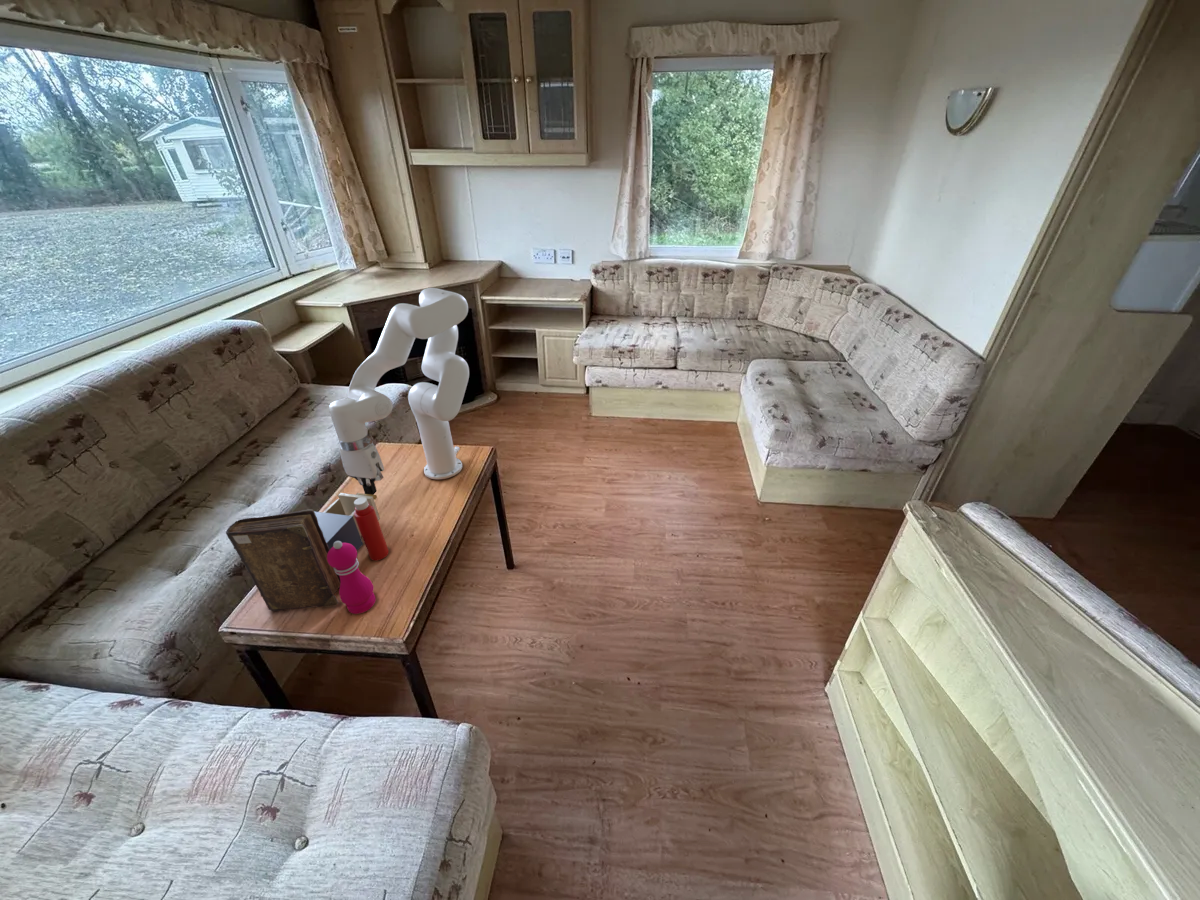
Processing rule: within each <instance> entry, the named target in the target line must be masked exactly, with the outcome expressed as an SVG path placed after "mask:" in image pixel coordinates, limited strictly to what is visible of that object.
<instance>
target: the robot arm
mask: <svg viewBox="0 0 1200 900" xmlns="http://www.w3.org/2000/svg"><path fill="white" fill-rule="evenodd" d="M418 304H419V305H415V304H410V303H404V302H402V303H397V304H394V306H393V307H392V308H391V309H390V311H389V314H388V316H387V319H386V321H385V324H384V327H383V328H382V331H381V334H380V337H379V339H378V341H377V344H376V347H375V349H374V350H373V352H372V353H371V354H370V355H369V356H368V357H367V358H366V359H364V361H363V362H361V363H360V365H359V366H358V367H357V368H356V370H355V372H354V374H353V375H352V378H351V380H350V382H349V383H350V384H349V386H348V389H347V393H346V397H343V398H339V399H336V400H334V401H332V402H331V403H330V404H329V406H328V412H329V415H330V418H331V421H332V424H333V427H334V430H335V434H336V436H337V438H338V442H339V444H340V446H339V451H340V452H339V454H340V459H341V463H342V467H343V471H344V472H345V473H346V475H347V476H348V477H350V478H352V479H355V480H356V481H357V482H358V483H359V485H360V486H362V489H363V492H364V494H372V495H376V493H377V491H378V490H377V487H376V483H375V482H378V481H379V482H380V481H382V480H383V479H384V475H383V473H382V472H384V471H385V467H384V463H383V460H382V458H381V456H380V453H379V451H378V449H377V447H376V445H375V444H374V443H373V439H371V438H370V436H369V433H368V429H367V426H366V424H367V423H370V422H371V423H372V422H376V421H380V420H383V419H386V418H387V417H388V416H390V414H392V412H393V408H394V405H393V401H392V400H391V398H390V397H389V396H387V395H386V394H384V393H381V392H380V391H377V390H376V387H377V384H378V383H379V381H380V379H381V378H382V377H383V376H384V375H385V374H386V373H387V372H389V371H390V370H393V369H396V368H399V367H402V366H404V365H405V364H406V363H407V361H408V358H409V356H410V353H411V350H412V348H413V345H414V342H415V340H416V339H420V340H427V342H426V346H425V349H424V354H423V357H422V361H421V372H422V374H423V375H424V376H425V377H427V378H428V379H431V380H433V381H436V382H438V385H436V384H433V383H430V382H427V381H421V382H417V383H415V384H414V385H412V386H411V387H410V389H409V391H408V395H407V399H408V404H409V407H410V409H411V412H412V415H413V416H414V419H415V422H416V425H417V430H418V432H419V437H420V441H421V444H422V450H423V452H424V453H423V454H424V457H425V461H426V464H425V466H424V467H423V474H424V476H425V477H426V478H428V479H432V480H445V479H449V478H452V477H454V476H456V475H458V474H459V473H460V472H461V471H462V469H463V461H462V460H461V459H459V458H457V455H458V453H459V451H460V450H461V448H460V447H459V446H457V445H455V446H454V442H453V437H452V433H451V427H450V421H452V420H453V419H455V418H456V417H457V416H458V414H459V412H460V410H461V407H462V403H463V402H464V401H463V400H464V397H465V393H466V390H467V386H468V383H469V378H470V367H469V364H468V362H467V361H466V359H464V358H463V357H462V356H460V355H458V354H456V351H457V347H458V342H459V327H458V325H459V324H460V323H461V322H463V321H464V320H465V319H466V318H467V316H468V313H469V304H468V301H467V299H466V298H465V297H464V295H462V294H460V293H457V292H454V291H450V290H446V289H442V288H437V287H427V288H424V289H422V290H421V291H420V293H419V295H418Z"/></svg>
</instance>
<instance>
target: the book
mask: <svg viewBox="0 0 1200 900" xmlns="http://www.w3.org/2000/svg"><path fill="white" fill-rule="evenodd" d="M314 511H315V510H314V509H312V508H311V509H302V510H298V511H291V512H286V513H281V514H274V515H267V516H259V517H254V516H253V517H247V518H242V519H238V520H235V522H233V523H232V524H231V525H229V527H228V528H227V529H226V531H225V534H226V537H227V538H228V540H229V541H230V543H231V544H232V546H233V549H234V551H236V553H237V554H238V556H239V558H240V561H241V562H242V564H243V565H244V567H245V569H246V570H247V573H248V574H249V576H250V577H251V580H252V581H253V584H254V586H255V587H256V588H257V591H258V592H259V593H260V597H261V598H262V599H263V601H264V604H265V605H266V607H267V610H269V611H272V612H281V611H282V612H283V611H284V612H285V611H288V610H298V609H306V608H326V607H335V606H338V605H339V601H338V600H337V598H336V595H335V594H336V592H337V591H338V590H339V589H340V583H341V582H340V576H339V575H338V574H336V573H335V570H334V568H333V567H331V566H330V565H329V563H328V561H327V554H328V552H329V550H330V549H329V547H328V545H327V543H326V540H325V538H324V535H323V532H322V530H321V528H320V527H319V523H318V520H317V517H316V515H315V512H316V511H315V512H314Z"/></svg>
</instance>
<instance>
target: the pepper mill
mask: <svg viewBox="0 0 1200 900" xmlns="http://www.w3.org/2000/svg"><path fill="white" fill-rule="evenodd" d="M327 561H328V563H329V565H330V566H331V567H333V568H334V570H335V573H336V574H338V575H339V576H340V582H341V583H340V589H338V594H339V595H338V596H339V598H340V601H341V602H342V603H343V604H344V605H345V606H346V609H347V611H348V612H349V613H351V614H353V615H354V614H355V615H358V614H359V615H360V614H363V613H366V612H367V611H369V610H370V609H372V608H373V606H374V605H375V603H376V600H377V599H376V595H375V593H374V584H373V582H372V580H371V578H369V577H368V576H366V575H365V574H363V573H362V572H361V570H360V568H359V565H360V562H359V559H358V551H357V550H356V548H355V547H354V546H353V545H352V544H349V543H342V542H341V541H336V542H334V544H333V547H332V548H331V549H330V550H329V552H328V554H327Z"/></svg>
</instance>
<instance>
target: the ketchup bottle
mask: <svg viewBox="0 0 1200 900" xmlns="http://www.w3.org/2000/svg"><path fill="white" fill-rule="evenodd" d="M354 505H355V512H354V516H355V519H356V522H357V524H358V527H359V530H360V533H361V535H362V536H361V539H362V542H363V544H364V546H365V548H366V552H367V554H368V557H369V559H370V560H372V561H381V560H383V559H385V558H386V557H387V556H388V555H389V552H390V551H389V548H388V546H387V542H386V539H385V536H384V534H383V531H382V528H381V525H380V522H379V521H380V520H379V521H378V518H377V516H376V513H375V510H374V507H373V506H370V504H369V503H368V501H367V499H366V498H365V497H361V498H358V499H356V500H355V501H354Z"/></svg>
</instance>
